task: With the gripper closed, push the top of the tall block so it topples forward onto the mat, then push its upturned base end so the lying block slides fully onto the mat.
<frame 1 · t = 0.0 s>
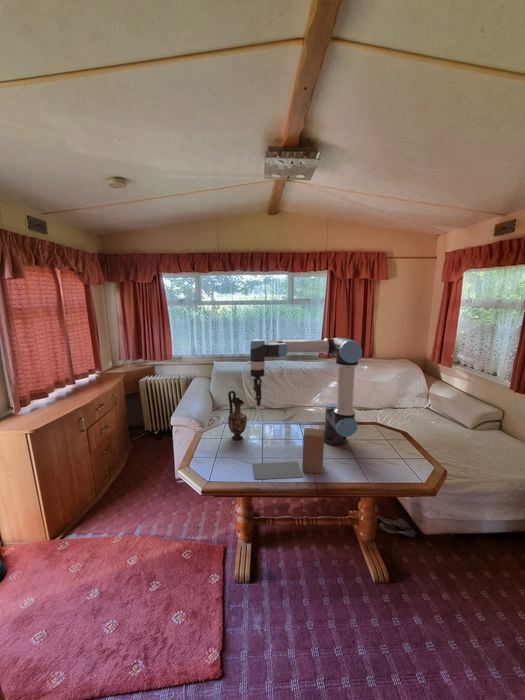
hand: (257, 406, 158), 28 cm above the table, fingers open, 13 cm apart
vase: (237, 438, 182), on the table
mat: (276, 470, 147), on the table
block: (312, 468, 149), on the table
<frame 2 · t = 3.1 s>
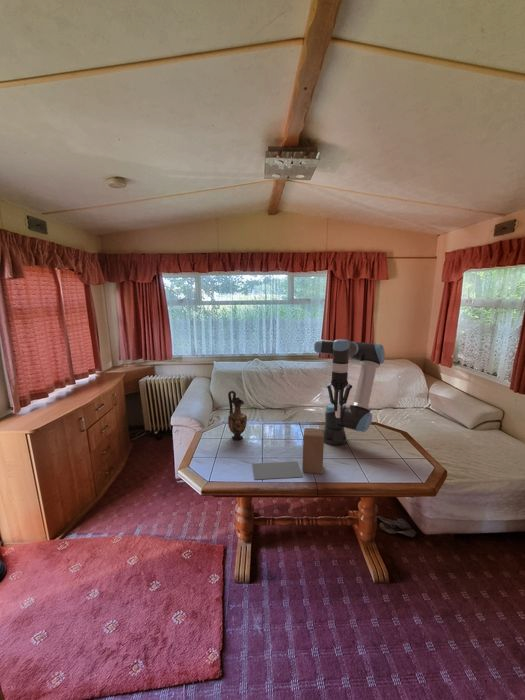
hand: (337, 417, 146), 27 cm above the table, fingers closed
nothing on the table moved.
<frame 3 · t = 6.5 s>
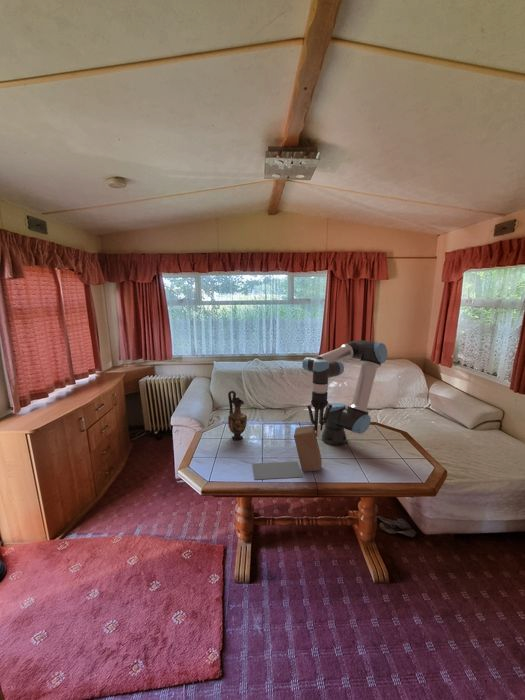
hand: (317, 436, 146), 18 cm above the table, fingers closed
block: (312, 466, 149), point 1 cm above the table, touching gripper
everything else where it was.
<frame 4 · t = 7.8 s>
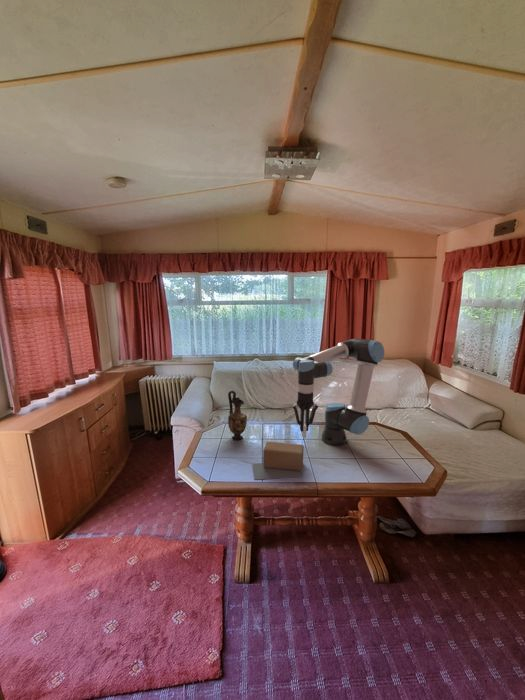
hand: (304, 436, 145), 18 cm above the table, fingers closed
block: (303, 457, 149), point 5 cm above the table, touching mat
everything else where it was.
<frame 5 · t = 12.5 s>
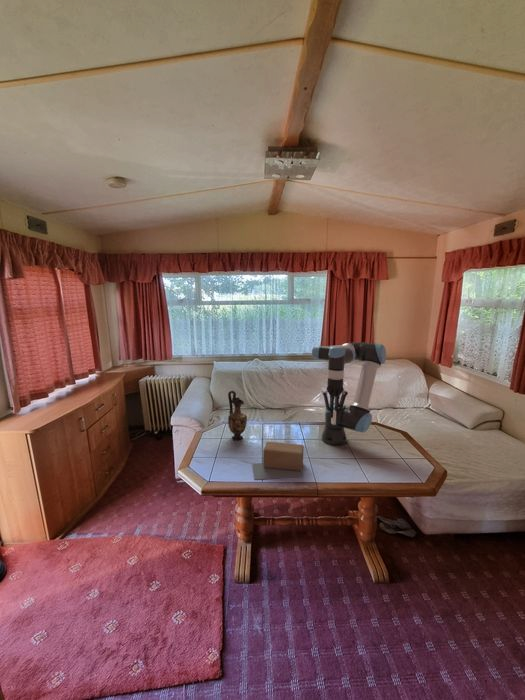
hand: (333, 423, 146), 24 cm above the table, fingers closed
nothing on the table moved.
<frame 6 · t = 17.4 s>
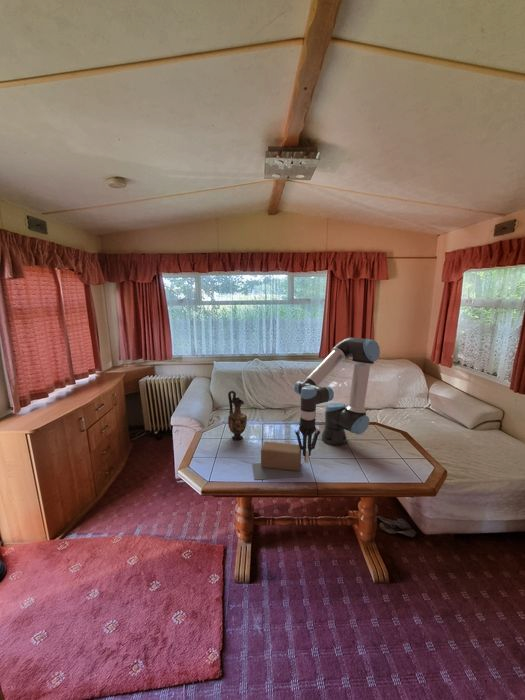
hand: (306, 461, 148), 4 cm above the table, fingers closed
block: (301, 457, 149), point 5 cm above the table, touching gripper
everything else where it was.
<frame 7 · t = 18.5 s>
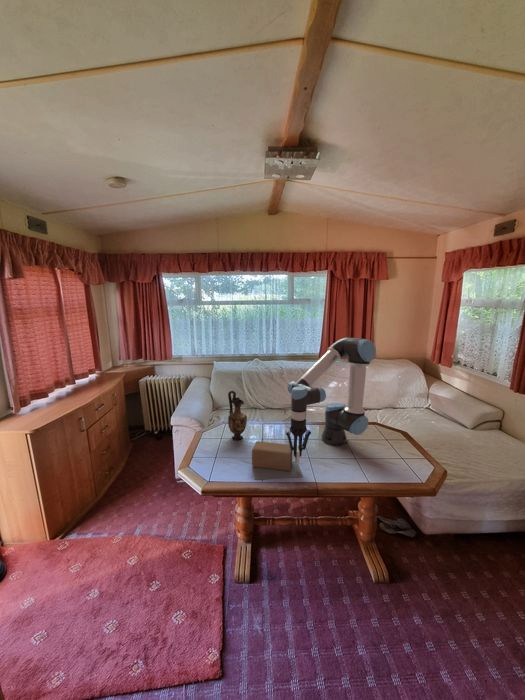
hand: (297, 462, 147), 4 cm above the table, fingers closed
block: (291, 457, 149), point 5 cm above the table, touching gripper, mat
everything else where it was.
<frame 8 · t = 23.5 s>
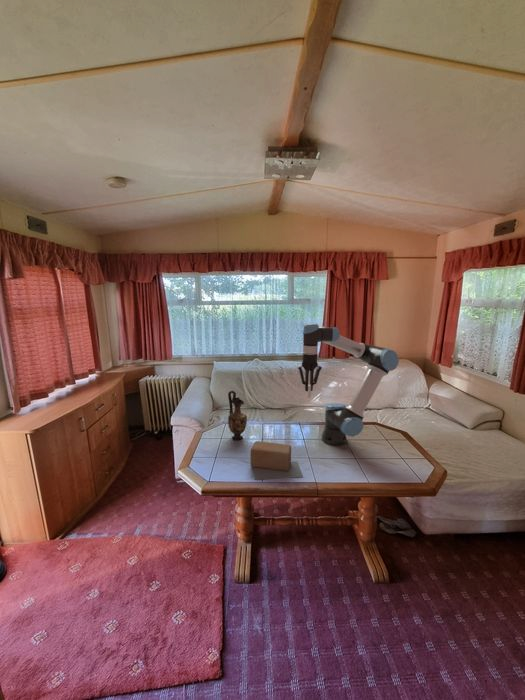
hand: (308, 396, 155), 34 cm above the table, fingers closed
block: (290, 457, 149), point 5 cm above the table, touching mat
everything else where it was.
at the end: block tilted 90°; block inside the target area (10.5 cm from its centre), point 5.3 cm above the table; block touching mat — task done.
